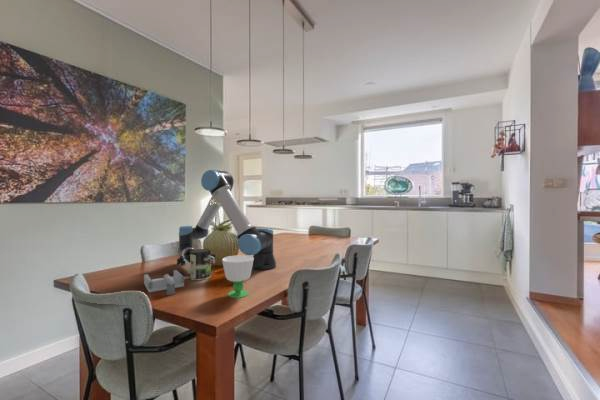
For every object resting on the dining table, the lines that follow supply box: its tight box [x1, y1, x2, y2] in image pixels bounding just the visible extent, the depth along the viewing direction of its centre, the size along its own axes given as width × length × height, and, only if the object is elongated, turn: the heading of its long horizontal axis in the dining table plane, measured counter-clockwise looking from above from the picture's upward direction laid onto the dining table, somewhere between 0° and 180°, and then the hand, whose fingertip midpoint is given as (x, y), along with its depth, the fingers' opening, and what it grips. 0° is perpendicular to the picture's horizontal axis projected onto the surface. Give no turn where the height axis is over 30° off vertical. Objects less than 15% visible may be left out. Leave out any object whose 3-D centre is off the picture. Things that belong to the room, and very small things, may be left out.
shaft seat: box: [143, 269, 185, 296], centre depth 138 cm, size 24×15×7 cm, turn 35°
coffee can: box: [189, 248, 212, 281], centre depth 154 cm, size 10×10×14 cm
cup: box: [221, 254, 254, 299], centre depth 129 cm, size 14×14×16 cm
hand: (201, 262), depth 152 cm, fingers open, 13 cm apart
